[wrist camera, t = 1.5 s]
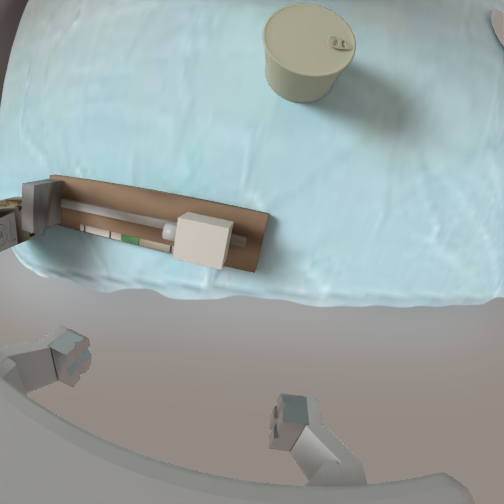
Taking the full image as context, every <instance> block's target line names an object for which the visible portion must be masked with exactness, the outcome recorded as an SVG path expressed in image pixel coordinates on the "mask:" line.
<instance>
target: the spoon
mask: <svg viewBox="0 0 504 504" xmlns="http://www.w3.org/2000/svg"><path fill="white" fill-rule="evenodd" d="M491 22H492V26H493V29H494V31H495V33H496V35H497V37H498V39H499V41H500V42H501V44H502V45H503V47H504V14H503V13H502V12H501V11H498V10H492V12H491Z"/></svg>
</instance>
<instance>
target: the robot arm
mask: <svg viewBox="0 0 504 504" xmlns="http://www.w3.org/2000/svg"><path fill="white" fill-rule="evenodd" d="M89 346H90V342H89V339H88V338H87V337H85V336H83V335H81V334H79V333H77V332H75V331H73V330H71V329H68V328H66V327H64V326H62V325H60V326H58V327H57V328H55V329H54V330H53V331H52V332H50V333H49V334H48V335H47V336H45V337H44V338H43V339H42V340H41V341H37V340H36V341H31V342H26V343H20V344H15V345H9V346H3V347H0V504H475V503H474V500H473V497H472V495H471V493H470V491H469V490H468V488H467V487H466V486H464V485H463V484H462V483H460V482H459V481H457V480H456V479H454V478H453V477H451V476H449V475H448V474H446V473H436V474H431V475H426V476H422V477H417V478H411V479H406V480H400V481H393V482H386V483H378V484H367V481H366V476H365V472H364V468H363V464H362V461H361V460H360V459H359V458H358V457H357V456H355V455H354V454H353V453H352V452H351V451H350V450H349V449H348V448H347V447H346V446H345V445H344V444H343V443H342V442H341V441H340V440H339V439H338V438H337V437H336V436H335V435H334V434H333V433H332V432H331V431H330V430H329V429H328V428H327V427H323V423H322V417H321V412H320V406H319V400H318V399H317V398H314V397H303V396H296V395H288V394H282V393H281V394H280V395H279V397H278V400H277V406H275V407H274V409H273V411H272V415H271V419H270V429H271V430H272V432H271V434H270V436H269V448H270V449H276V450H283V451H290V453H291V455H292V456H293V458H294V459H295V461H296V462H297V464H298V465H299V467H300V468H301V470H302V471H303V473H304V474H305V476H306V477H307V478H308V480H309V482H308V483H307V484H306V485H305V486H292V485H279V484H268V483H260V482H251V481H245V480H239V479H233V478H227V477H222V476H217V475H212V474H208V473H203V472H199V471H195V470H190V469H187V468H183V467H180V466H176V465H173V464H169V463H166V462H163V461H159V460H157V459H154V458H150V457H148V456H145V455H142V454H139V453H136V452H134V451H131V450H129V449H126V448H124V447H121V446H119V445H116V444H114V443H112V442H110V441H107V440H105V439H103V438H101V437H99V436H96V435H94V434H92V433H90V432H88V431H86V430H84V429H82V428H80V427H78V426H76V425H74V424H73V423H70V422H69V421H67V420H65V419H64V418H62V417H60V416H58V415H57V414H55V413H53V412H51V411H50V410H48V409H46V408H45V407H43V406H41V405H40V404H39V403H37V402H36V401H34V400H32V399H31V398H29V397H28V396H27V394H26V393H28V392H31V391H33V390H36V389H38V388H41V387H44V386H46V385H48V384H51V383H53V382H55V381H58V380H59V381H61V382H63V383H65V384H67V385H69V386H71V387H74V385H75V384H76V383H77V382H78V381H79V379H80V374H82V373H85V372H86V371H87V370H88V369H89V366H90V363H91V353H90V351H89V350H88V347H89Z"/></svg>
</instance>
